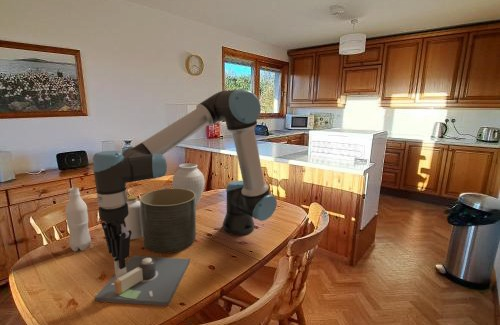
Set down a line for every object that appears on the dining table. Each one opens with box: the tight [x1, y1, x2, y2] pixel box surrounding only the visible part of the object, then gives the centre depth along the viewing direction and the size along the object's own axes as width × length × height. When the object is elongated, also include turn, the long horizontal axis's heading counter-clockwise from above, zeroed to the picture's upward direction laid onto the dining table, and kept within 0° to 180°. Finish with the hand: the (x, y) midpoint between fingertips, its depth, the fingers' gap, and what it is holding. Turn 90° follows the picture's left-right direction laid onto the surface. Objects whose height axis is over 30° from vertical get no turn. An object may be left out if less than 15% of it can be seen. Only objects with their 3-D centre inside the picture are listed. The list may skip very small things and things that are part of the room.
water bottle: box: [64, 187, 92, 252], centre depth 101 cm, size 7×7×25 cm
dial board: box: [94, 255, 191, 307], centre depth 86 cm, size 22×22×1 cm
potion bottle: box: [124, 195, 143, 241], centre depth 113 cm, size 8×8×18 cm
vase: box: [171, 162, 206, 207], centre depth 146 cm, size 18×18×25 cm
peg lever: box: [114, 258, 156, 294], centre depth 82 cm, size 13×5×6 cm, turn 148°
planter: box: [139, 187, 197, 254], centre depth 110 cm, size 22×22×20 cm
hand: (121, 275), depth 80 cm, fingers closed
